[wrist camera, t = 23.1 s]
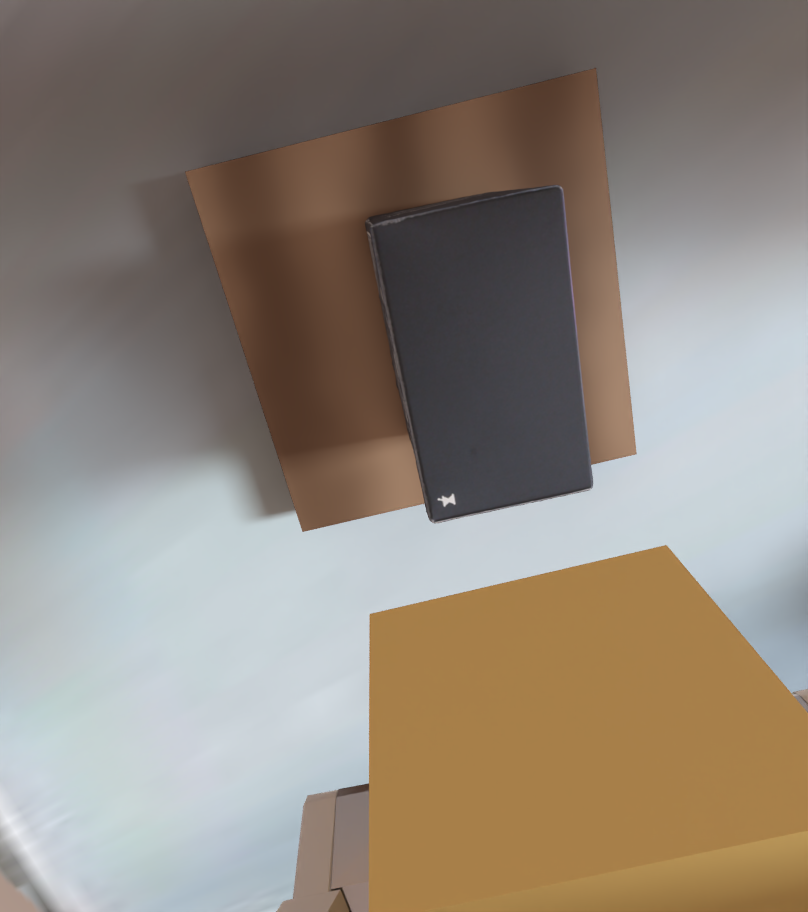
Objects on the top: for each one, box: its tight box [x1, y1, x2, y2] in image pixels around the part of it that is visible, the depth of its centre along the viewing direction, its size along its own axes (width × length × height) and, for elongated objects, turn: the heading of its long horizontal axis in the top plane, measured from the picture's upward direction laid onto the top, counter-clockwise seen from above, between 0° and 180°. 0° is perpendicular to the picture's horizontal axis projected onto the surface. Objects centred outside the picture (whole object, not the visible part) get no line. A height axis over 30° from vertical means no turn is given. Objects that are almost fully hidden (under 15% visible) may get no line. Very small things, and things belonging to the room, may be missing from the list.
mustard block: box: [369, 545, 808, 912], centre depth 9 cm, size 5×5×5 cm
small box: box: [365, 185, 593, 523], centre depth 26 cm, size 11×6×10 cm, turn 11°
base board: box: [185, 68, 636, 532], centre depth 33 cm, size 18×18×3 cm
